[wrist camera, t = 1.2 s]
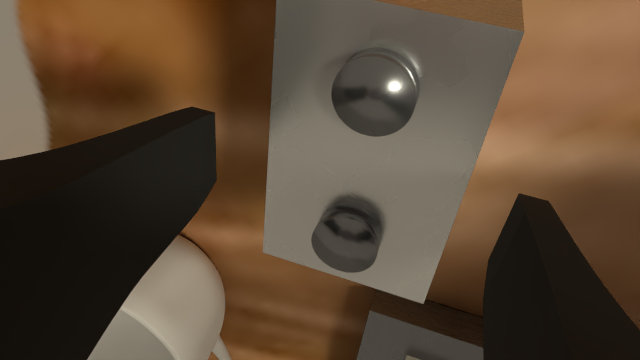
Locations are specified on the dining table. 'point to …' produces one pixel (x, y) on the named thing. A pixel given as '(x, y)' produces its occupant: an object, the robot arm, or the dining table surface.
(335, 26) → the block
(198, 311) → the teacup
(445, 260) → the dining table surface
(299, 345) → the dining table surface
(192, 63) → the dining table surface
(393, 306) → the stand
